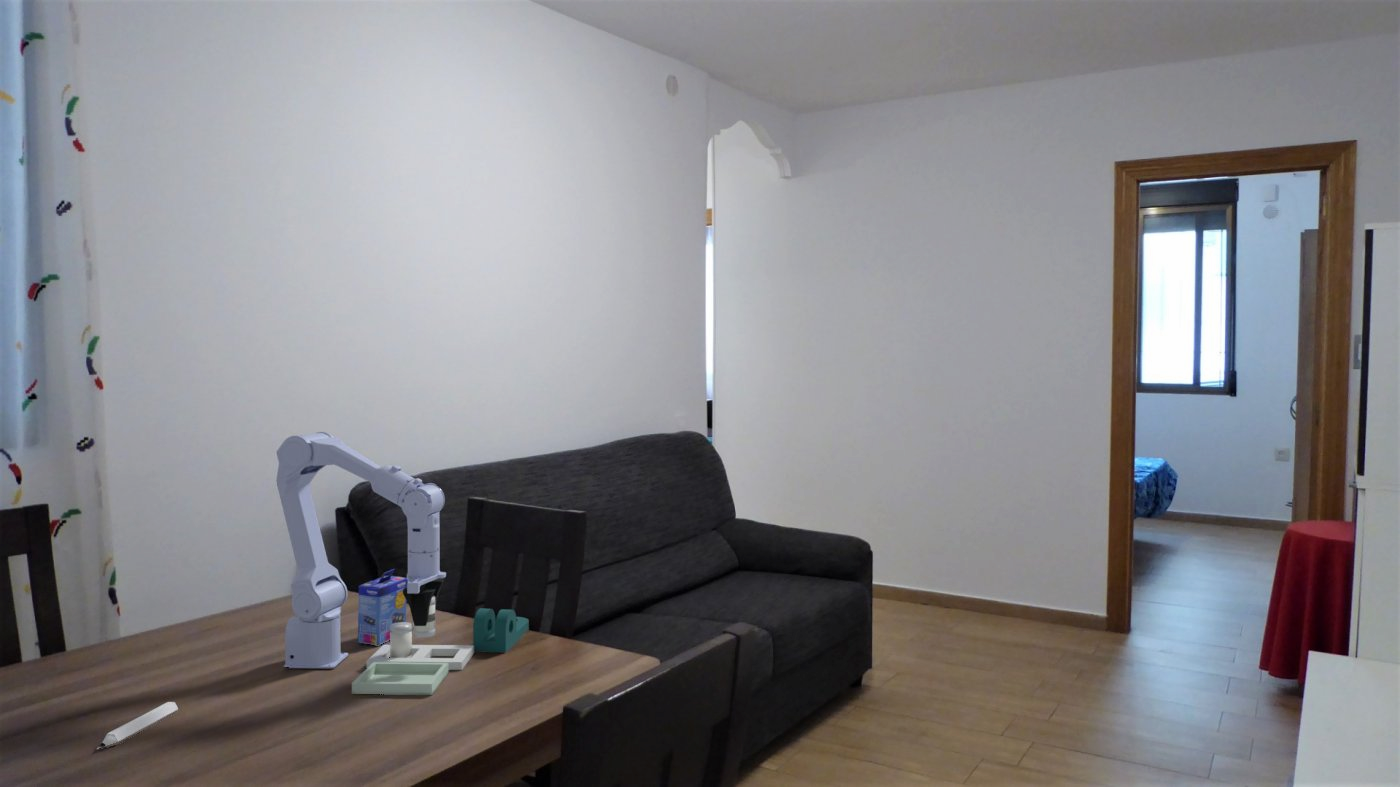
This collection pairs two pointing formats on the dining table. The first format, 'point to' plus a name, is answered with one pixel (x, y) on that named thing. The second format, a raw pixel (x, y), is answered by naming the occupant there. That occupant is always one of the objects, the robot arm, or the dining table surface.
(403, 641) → the cylinder
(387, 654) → the fuse holder
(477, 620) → the bracket
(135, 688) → the dining table surface
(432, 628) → the cylinder
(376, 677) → the parts tray
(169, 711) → the marker
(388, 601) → the ink cartridge box
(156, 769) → the dining table surface
